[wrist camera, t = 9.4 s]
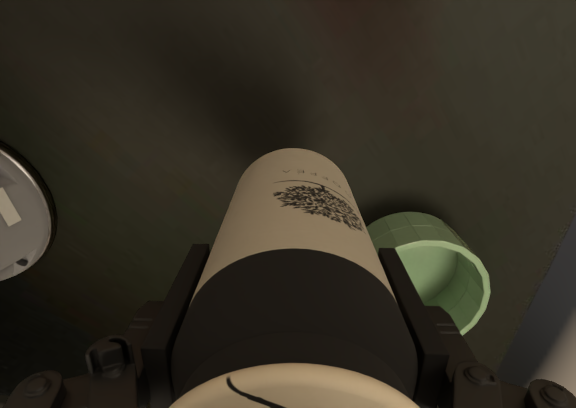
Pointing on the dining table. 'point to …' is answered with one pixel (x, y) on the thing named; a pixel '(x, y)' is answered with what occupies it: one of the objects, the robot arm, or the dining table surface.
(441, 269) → the pot
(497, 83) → the dining table surface
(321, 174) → the travel mug
